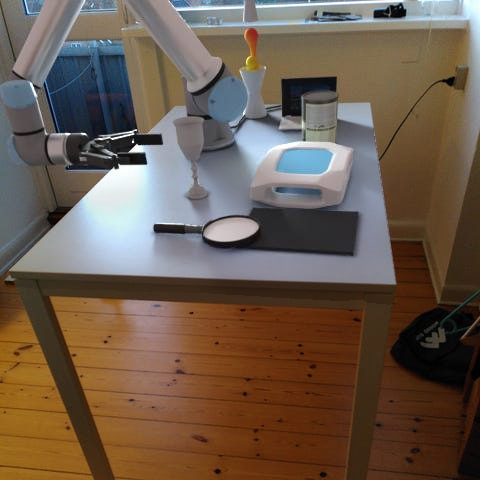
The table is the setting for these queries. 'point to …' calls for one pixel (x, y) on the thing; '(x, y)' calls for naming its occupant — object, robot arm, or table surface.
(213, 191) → the table surface
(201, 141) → the chalice
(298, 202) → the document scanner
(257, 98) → the lava lamp
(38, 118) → the robot arm
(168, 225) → the magnifying glass
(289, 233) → the mat
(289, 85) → the laptop
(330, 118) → the coffee can
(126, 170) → the table surface
